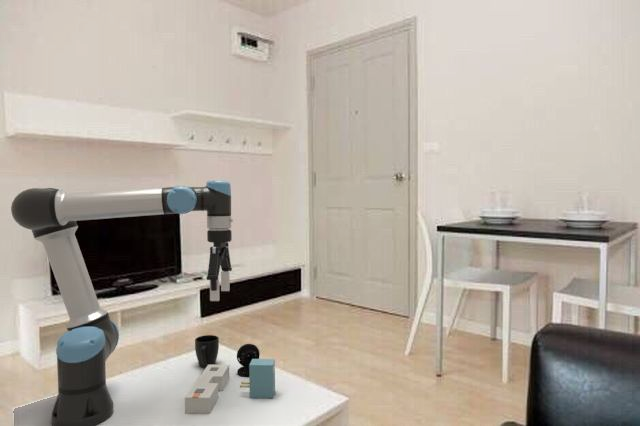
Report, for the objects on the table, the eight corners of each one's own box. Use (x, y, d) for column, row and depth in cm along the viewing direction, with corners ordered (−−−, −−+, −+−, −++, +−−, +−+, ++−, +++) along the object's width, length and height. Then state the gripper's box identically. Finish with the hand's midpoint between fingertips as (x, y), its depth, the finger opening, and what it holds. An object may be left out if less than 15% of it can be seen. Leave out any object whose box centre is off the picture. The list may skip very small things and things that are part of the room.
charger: (239, 397, 136) (238, 365, 135) (242, 390, 141) (242, 358, 140) (273, 398, 135) (273, 365, 135) (275, 390, 140) (275, 359, 140)
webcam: (238, 378, 150) (238, 348, 149) (235, 370, 157) (235, 341, 157) (261, 375, 152) (261, 346, 152) (257, 367, 159) (257, 339, 159)
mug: (190, 373, 154) (189, 346, 154) (198, 360, 166) (198, 335, 166) (214, 373, 154) (213, 345, 154) (221, 360, 166) (220, 334, 166)
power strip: (184, 413, 126) (184, 396, 126) (214, 368, 159) (214, 355, 158) (209, 413, 126) (209, 397, 126) (234, 368, 158) (234, 355, 158)
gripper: (221, 232, 131) (222, 305, 132) (239, 226, 156) (240, 287, 157) (195, 232, 131) (197, 305, 132) (217, 226, 156) (218, 287, 157)
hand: (220, 295), depth 145 cm, fingers open, 13 cm apart
